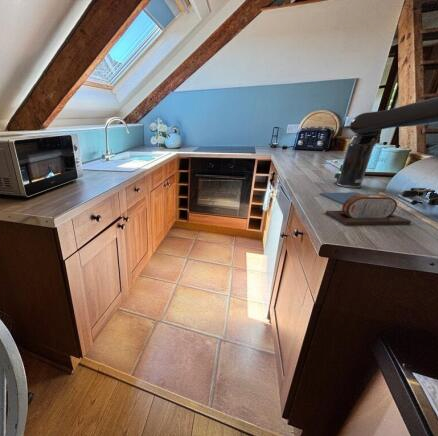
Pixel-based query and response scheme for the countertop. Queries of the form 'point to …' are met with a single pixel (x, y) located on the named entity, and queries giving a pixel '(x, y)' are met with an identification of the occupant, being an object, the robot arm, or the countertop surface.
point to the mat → (339, 196)
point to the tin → (369, 206)
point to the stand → (368, 219)
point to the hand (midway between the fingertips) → (416, 197)
